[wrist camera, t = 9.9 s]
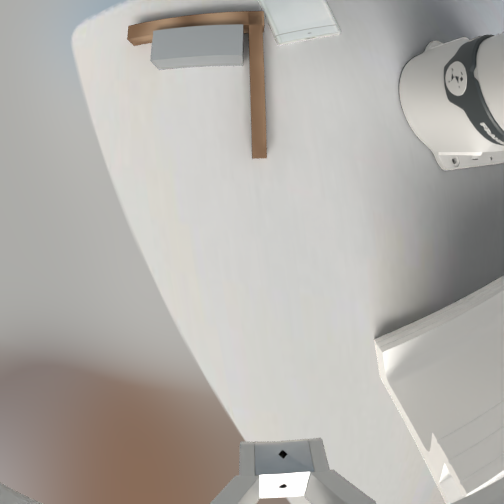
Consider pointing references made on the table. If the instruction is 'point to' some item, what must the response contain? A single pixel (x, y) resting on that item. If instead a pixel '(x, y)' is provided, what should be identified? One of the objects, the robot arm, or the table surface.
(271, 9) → the hard drive
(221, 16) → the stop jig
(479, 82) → the robot arm
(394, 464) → the table surface
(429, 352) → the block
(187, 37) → the block
